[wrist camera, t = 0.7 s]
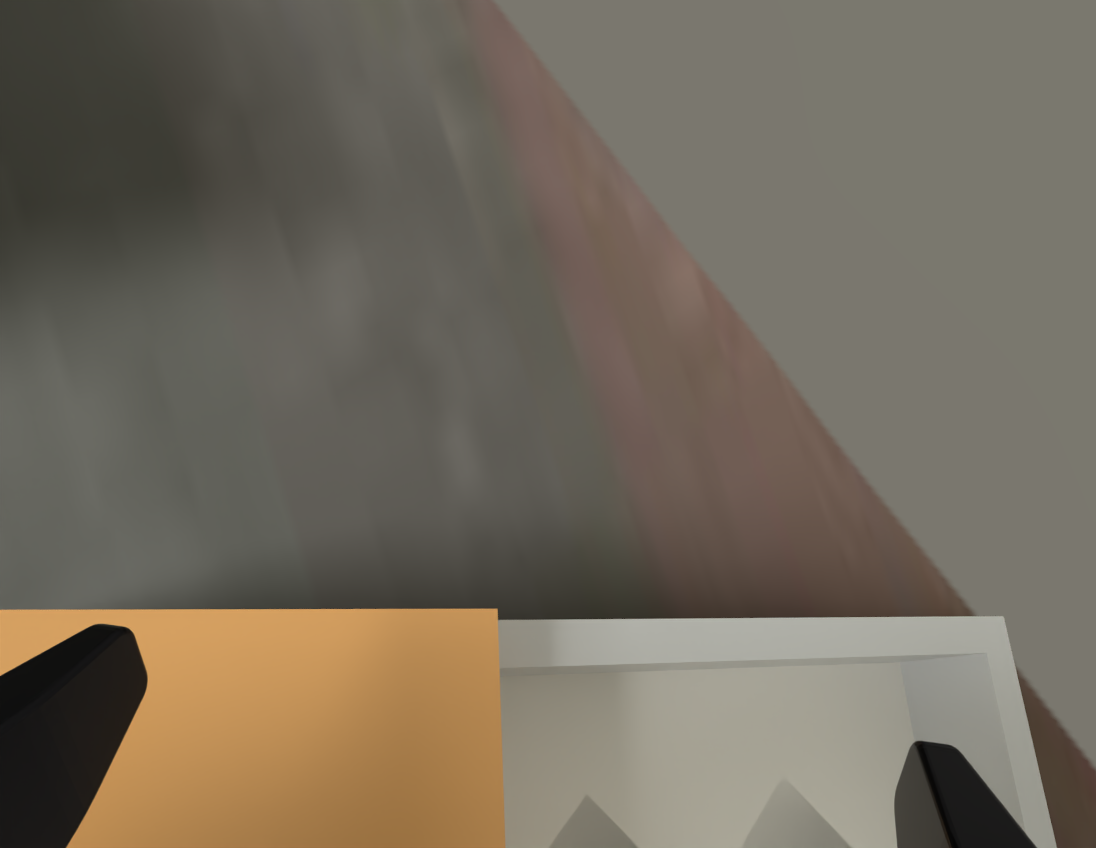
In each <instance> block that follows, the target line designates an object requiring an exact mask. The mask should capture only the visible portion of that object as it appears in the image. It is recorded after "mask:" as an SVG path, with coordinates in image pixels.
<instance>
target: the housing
mask: <svg viewBox="0 0 1096 848" xmlns="http://www.w3.org/2000/svg"><path fill="white" fill-rule="evenodd" d="M498 640H499V670H500V700H501V729H502V759H503V789H504V819H505V848H897V838H896V826H895V815H894V798H895V791H896V787H897V784H898V781H899V778H900V775H901V772H902V769H903V766H904V763H905V760H906V757H907V754H908V751H909V749H910V746H911V745H912V744H913V743H914V742H915V741H927V742H934V743H941V744H948V745H952V746H954V747H955V748H957V749H958V750H959V751H960V752H961V753H962V754H963V755H964V757H965V758H966V759H967V760H968V762H969V763H970V764H971V765H972V767H973V768H974V769H975V770H976V772H977V773H978V774H979V775H980V777H981V778H982V779H983V780H984V782H985V783H986V784H987V785H988V787H989V788H990V789H991V790H992V792H993V793H994V794H995V795H996V797H997V798H998V799H999V800H1000V802H1001V803H1002V804H1003V805H1004V807H1005V808H1006V809H1007V810H1008V812H1009V813H1010V814H1011V816H1012V817H1013V818H1014V819H1015V821H1016V822H1017V823H1018V824H1019V826H1020V827H1021V828H1022V829H1023V831H1024V832H1025V833H1026V834H1027V836H1028V837H1029V838H1030V839H1031V841H1032V842H1033V843H1034V844H1035V846H1036V847H1037V848H1057V846H1056V842H1055V838H1054V833H1053V829H1052V825H1051V820H1050V816H1049V812H1048V807H1047V803H1046V798H1045V794H1044V790H1043V785H1042V781H1041V777H1040V772H1039V768H1038V764H1037V759H1036V755H1035V751H1034V746H1033V742H1032V738H1031V733H1030V729H1029V724H1028V720H1027V716H1026V711H1025V707H1024V703H1023V698H1022V694H1021V690H1020V685H1019V681H1018V677H1017V672H1016V668H1015V664H1014V659H1013V655H1012V650H1011V647H1010V642H1009V638H1008V633H1007V629H1006V625H1005V620H1004V616H957V617H826V618H695V619H565V620H498Z"/></svg>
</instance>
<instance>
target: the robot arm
mask: <svg viewBox="0 0 1096 848" xmlns="http://www.w3.org/2000/svg"><path fill="white" fill-rule="evenodd" d="M147 683H148V674H147V670H146V667H145V664H144V662H143V659H142V656H141V653H140V650H139V647H138V644H137V641H136V638H135V635H134V633H133V632H132V631H131V630H130V629H129V628H127V627H123V626H116V625H109V624H95V625H92V626H90V627H88V628H86V629H84V630H82V631H80V632H78V633H77V634H75V635H73V636H71V637H69V638H68V639H66V640H64V641H62V642H60V643H59V644H57V645H55V646H53V647H51V648H49V649H48V650H46V651H44V652H42V653H40V654H39V655H37V656H35V657H33V658H31V659H30V660H28V661H26V662H24V663H22V664H20V665H19V666H17V667H15V668H13V669H11V670H10V671H8V672H6V673H4V674H2V675H1V676H0V848H66V847H67V846H68V844H69V842H70V841H71V839H72V837H73V836H74V834H75V832H76V831H77V829H78V827H79V825H80V824H81V822H82V820H83V819H84V817H85V815H86V813H87V811H88V809H89V808H90V806H91V804H92V802H93V800H94V798H95V796H96V794H97V792H98V790H99V788H100V786H101V784H102V782H103V780H104V778H105V776H106V774H107V772H108V769H109V767H110V765H111V763H112V761H113V759H114V757H115V755H116V753H117V751H118V749H119V747H120V745H121V743H122V741H123V739H124V736H125V734H126V732H127V730H128V728H129V726H130V724H131V722H132V720H133V718H134V716H135V714H136V712H137V710H138V708H139V706H140V703H141V701H142V699H143V697H144V695H145V692H146V689H147ZM894 815H895V826H896V838H897V848H1037V847H1036V846H1035V844H1034V843H1033V842H1032V841H1031V839H1030V838H1029V837H1028V836H1027V834H1026V833H1025V832H1024V831H1023V829H1022V828H1021V827H1020V826H1019V824H1018V823H1017V822H1016V821H1015V819H1014V818H1013V817H1012V816H1011V814H1010V813H1009V812H1008V810H1007V809H1006V808H1005V807H1004V805H1003V804H1002V803H1001V802H1000V800H999V799H998V798H997V797H996V795H995V794H994V793H993V792H992V790H991V789H990V788H989V787H988V785H987V784H986V783H985V782H984V780H983V779H982V778H981V777H980V775H979V774H978V773H977V772H976V770H975V769H974V768H973V767H972V765H971V764H970V763H969V762H968V760H967V759H966V758H965V757H964V755H963V754H962V753H961V752H960V751H959V750H958V749H957V748H955V747H954V746H952V745H948V744H941V743H934V742H927V741H915V742H914V743H913V744H912V745H911V746H910V749H909V751H908V754H907V757H906V760H905V763H904V766H903V769H902V772H901V775H900V778H899V781H898V784H897V787H896V791H895V798H894Z"/></svg>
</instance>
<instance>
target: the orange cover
mask: <svg viewBox="0 0 1096 848" xmlns="http://www.w3.org/2000/svg"><path fill="white" fill-rule="evenodd" d="M95 624H109V625H116V626H123V627H127V628H129V629H130V630H131V631H132V632H133V633H134V635H135V638H136V641H137V644H138V647H139V650H140V653H141V656H142V659H143V662H144V664H145V667H146V670H147V674H148V683H147V689H146V692H145V695H144V697H143V699H142V701H141V703H140V706H139V708H138V710H137V712H136V714H135V716H134V718H133V720H132V722H131V724H130V726H129V728H128V730H127V732H126V734H125V736H124V739H123V741H122V743H121V745H120V747H119V749H118V751H117V753H116V755H115V757H114V759H113V761H112V763H111V765H110V767H109V769H108V772H107V774H106V776H105V778H104V780H103V782H102V784H101V786H100V788H99V790H98V792H97V794H96V796H95V798H94V800H93V802H92V804H91V806H90V808H89V809H88V811H87V813H86V815H85V817H84V819H83V820H82V822H81V824H80V825H79V827H78V829H77V831H76V832H75V834H74V836H73V837H72V839H71V841H70V842H69V844H68V846H67V847H66V848H505V819H504V789H503V759H502V729H501V700H500V670H499V640H498V610H497V609H161V610H0V676H1V675H2V674H4V673H6V672H8V671H10V670H11V669H13V668H15V667H17V666H19V665H20V664H22V663H24V662H26V661H28V660H30V659H31V658H33V657H35V656H37V655H39V654H40V653H42V652H44V651H46V650H48V649H49V648H51V647H53V646H55V645H57V644H59V643H60V642H62V641H64V640H66V639H68V638H69V637H71V636H73V635H75V634H77V633H78V632H80V631H82V630H84V629H86V628H88V627H90V626H92V625H95Z"/></svg>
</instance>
